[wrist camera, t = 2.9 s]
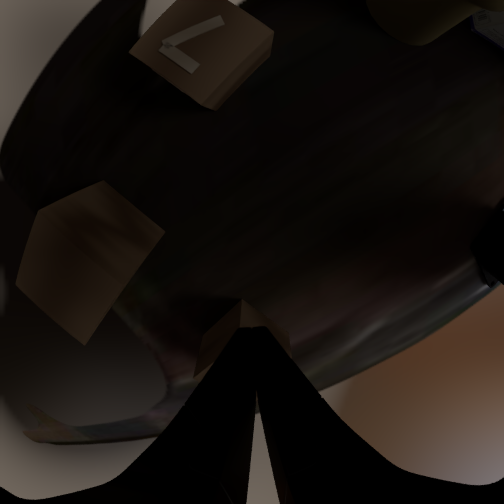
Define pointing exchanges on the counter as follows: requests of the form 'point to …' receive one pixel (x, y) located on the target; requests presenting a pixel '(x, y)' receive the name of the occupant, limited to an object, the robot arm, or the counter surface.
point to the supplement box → (489, 26)
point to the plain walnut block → (84, 256)
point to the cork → (425, 16)
